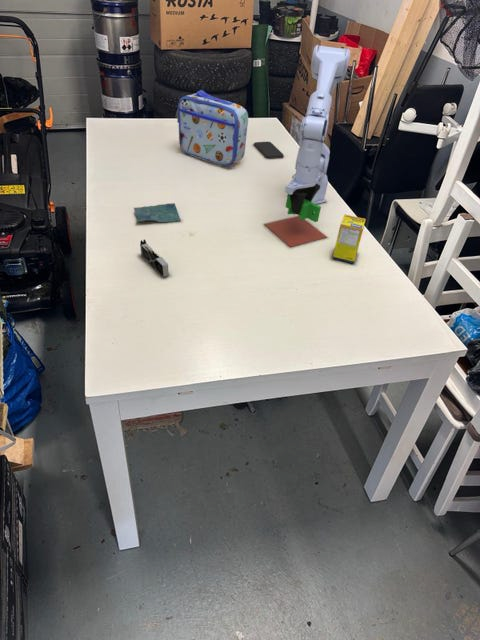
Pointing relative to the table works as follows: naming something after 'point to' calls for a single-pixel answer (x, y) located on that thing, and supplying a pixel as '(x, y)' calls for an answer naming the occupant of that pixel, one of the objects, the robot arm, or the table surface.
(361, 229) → the supplement box
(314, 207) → the pipe clamp
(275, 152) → the phone
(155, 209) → the terrain model
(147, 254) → the graphics card
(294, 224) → the napkin
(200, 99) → the lunch box
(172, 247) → the table surface
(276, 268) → the table surface
